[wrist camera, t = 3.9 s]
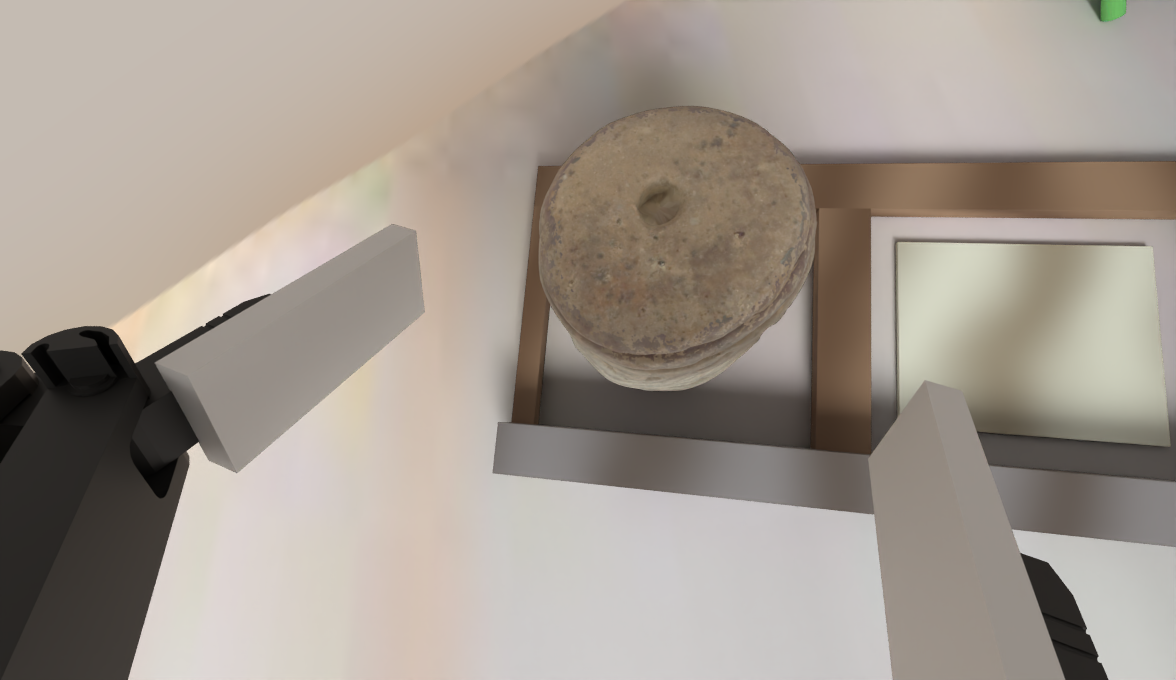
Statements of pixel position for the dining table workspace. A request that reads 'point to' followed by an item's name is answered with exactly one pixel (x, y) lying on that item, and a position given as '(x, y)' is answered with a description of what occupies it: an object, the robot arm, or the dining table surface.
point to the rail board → (929, 350)
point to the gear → (1112, 9)
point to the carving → (675, 244)
